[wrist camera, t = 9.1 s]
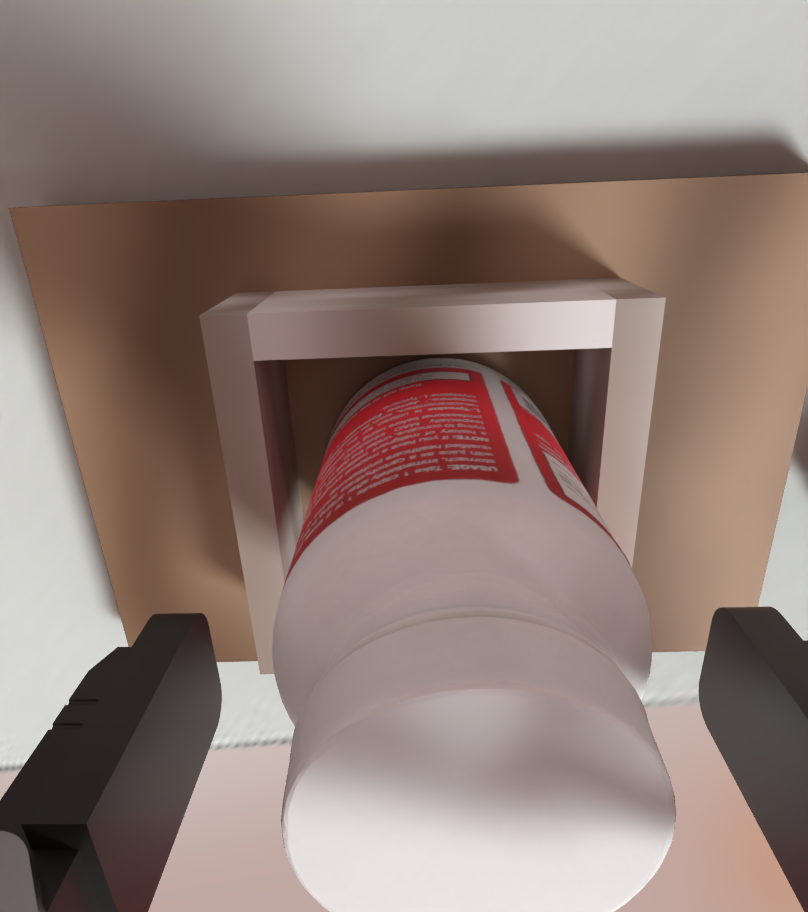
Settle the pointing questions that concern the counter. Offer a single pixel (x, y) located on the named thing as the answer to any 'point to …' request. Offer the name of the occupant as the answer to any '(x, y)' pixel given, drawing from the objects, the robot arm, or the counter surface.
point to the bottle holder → (423, 337)
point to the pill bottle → (464, 665)
